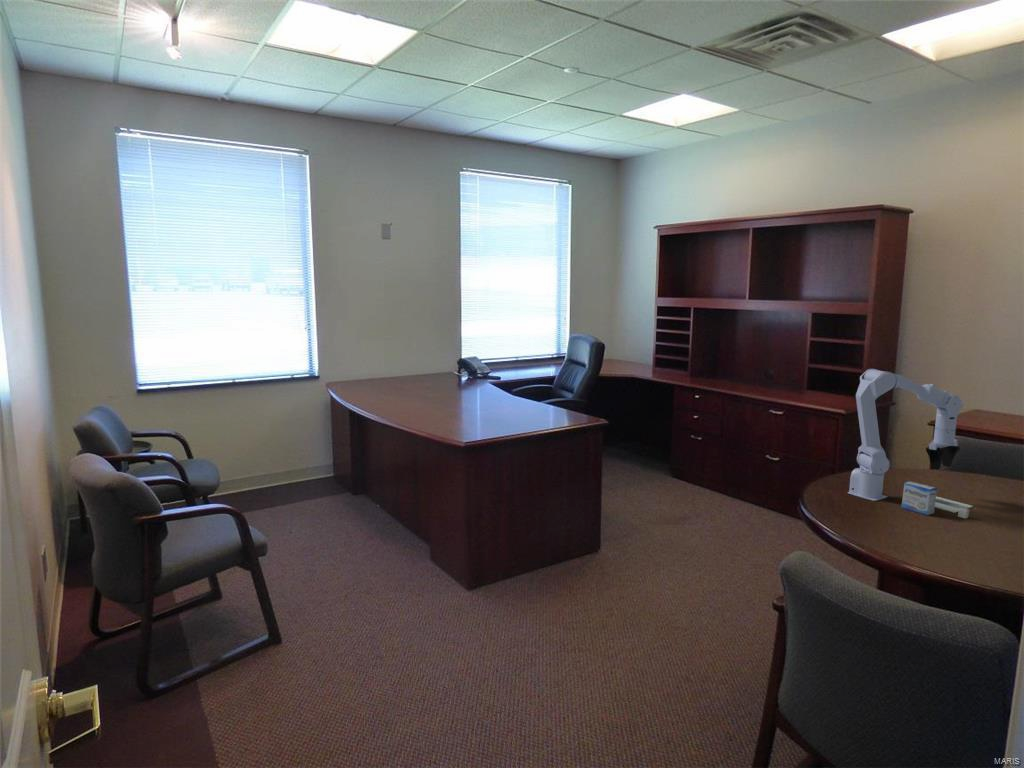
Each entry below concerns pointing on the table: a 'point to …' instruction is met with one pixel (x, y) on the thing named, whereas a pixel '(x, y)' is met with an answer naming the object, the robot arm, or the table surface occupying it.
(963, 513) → the gray bar handle
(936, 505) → the sage mat
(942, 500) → the grey bar
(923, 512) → the medicine box
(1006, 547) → the table surface
